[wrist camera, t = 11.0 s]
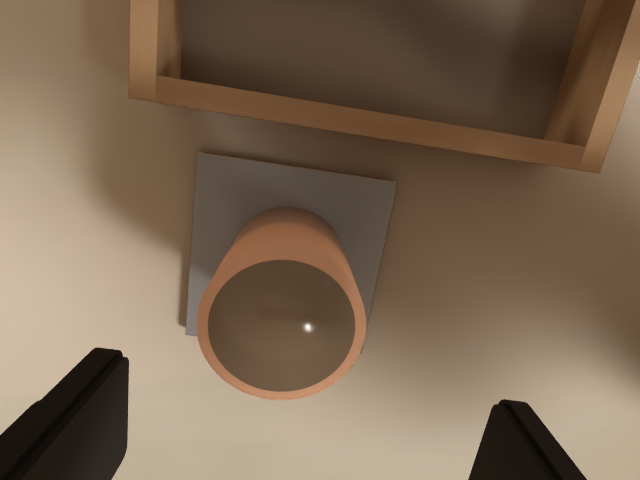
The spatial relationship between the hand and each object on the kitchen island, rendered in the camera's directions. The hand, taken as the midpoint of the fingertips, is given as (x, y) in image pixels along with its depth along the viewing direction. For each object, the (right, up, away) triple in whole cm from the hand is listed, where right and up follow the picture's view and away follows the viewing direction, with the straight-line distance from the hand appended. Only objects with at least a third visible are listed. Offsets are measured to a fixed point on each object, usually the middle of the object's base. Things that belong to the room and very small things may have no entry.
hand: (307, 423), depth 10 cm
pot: (-1, +3, +11) cm, 11 cm away
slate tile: (-1, +4, +11) cm, 12 cm away
